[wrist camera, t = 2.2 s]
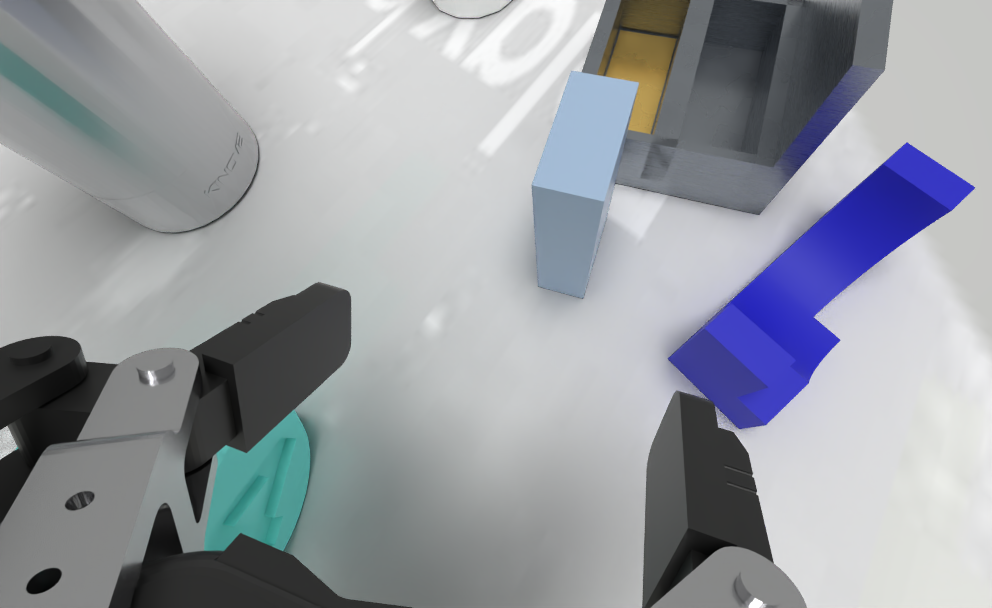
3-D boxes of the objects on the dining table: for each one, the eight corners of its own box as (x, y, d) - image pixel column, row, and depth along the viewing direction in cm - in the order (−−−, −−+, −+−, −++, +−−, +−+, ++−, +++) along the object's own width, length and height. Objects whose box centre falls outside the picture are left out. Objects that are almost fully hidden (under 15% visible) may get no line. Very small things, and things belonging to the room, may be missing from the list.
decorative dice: (327, 416, 24) (229, 397, 17) (283, 587, 22) (146, 654, 15) (192, 393, 26) (43, 366, 18) (136, 554, 23) (-61, 600, 16)
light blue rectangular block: (538, 286, 25) (531, 185, 16) (563, 207, 27) (571, 70, 17) (583, 298, 25) (604, 201, 16) (606, 217, 26) (639, 82, 17)
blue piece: (738, 429, 22) (802, 419, 17) (666, 359, 24) (704, 328, 18) (902, 270, 24) (1012, 211, 18) (826, 213, 25) (906, 142, 20)
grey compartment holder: (561, 171, 27) (568, 21, 18) (606, 35, 30) (633, -158, 21) (759, 214, 25) (884, 70, 16) (787, 63, 28) (909, -136, 19)
